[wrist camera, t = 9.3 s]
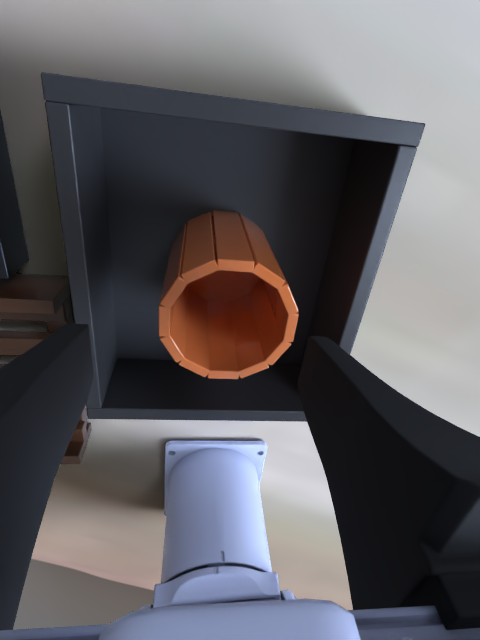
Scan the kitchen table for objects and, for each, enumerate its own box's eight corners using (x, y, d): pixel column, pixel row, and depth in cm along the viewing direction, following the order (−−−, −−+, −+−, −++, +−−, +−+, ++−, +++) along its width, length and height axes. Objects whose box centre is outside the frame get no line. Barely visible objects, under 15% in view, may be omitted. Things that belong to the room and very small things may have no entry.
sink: (307, 368, 26) (328, 422, 21) (108, 361, 24) (87, 419, 20) (371, 118, 18) (426, 123, 14) (83, 80, 16) (39, 72, 12)
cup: (262, 305, 22) (284, 380, 16) (170, 300, 21) (158, 377, 15) (276, 215, 19) (310, 265, 13) (172, 206, 19) (158, 254, 13)
